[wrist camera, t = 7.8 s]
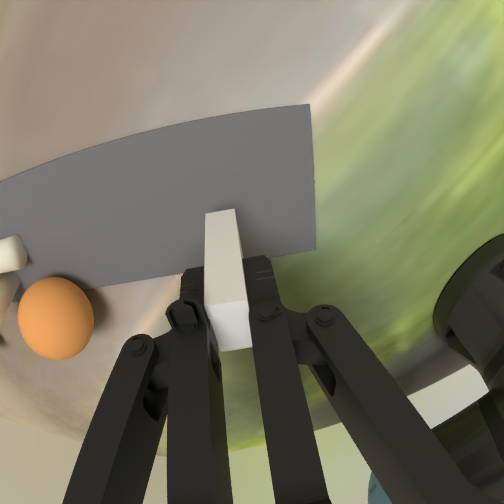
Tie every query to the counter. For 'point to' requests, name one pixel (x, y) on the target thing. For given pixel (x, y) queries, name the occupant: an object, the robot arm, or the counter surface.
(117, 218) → the grey flat board
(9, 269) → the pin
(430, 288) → the counter surface
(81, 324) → the ball
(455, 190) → the counter surface
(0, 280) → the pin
